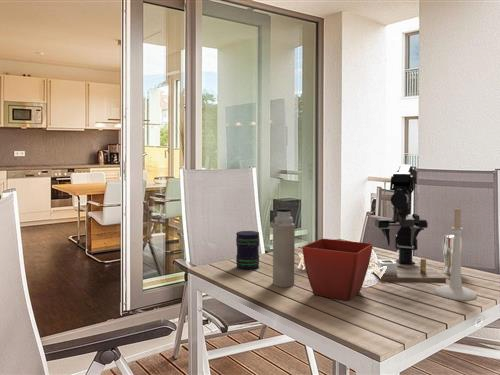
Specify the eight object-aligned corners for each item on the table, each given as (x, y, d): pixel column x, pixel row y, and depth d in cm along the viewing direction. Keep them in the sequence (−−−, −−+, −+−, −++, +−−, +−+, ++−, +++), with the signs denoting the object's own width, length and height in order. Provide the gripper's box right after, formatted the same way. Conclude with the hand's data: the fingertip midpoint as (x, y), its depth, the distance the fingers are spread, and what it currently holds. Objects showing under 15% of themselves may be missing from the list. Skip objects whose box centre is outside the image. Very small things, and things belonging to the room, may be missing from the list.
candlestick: (478, 292, 152) (481, 206, 150) (473, 302, 141) (476, 209, 139) (439, 286, 159) (441, 204, 157) (431, 295, 148) (433, 207, 146)
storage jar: (231, 267, 187) (231, 232, 186) (248, 263, 194) (248, 230, 193) (247, 271, 180) (246, 235, 179) (264, 267, 187) (264, 232, 186)
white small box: (377, 270, 175) (377, 259, 175) (392, 270, 175) (392, 259, 175) (381, 274, 169) (381, 263, 169) (397, 274, 169) (397, 263, 169)
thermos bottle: (281, 279, 168) (282, 206, 166) (298, 283, 163) (299, 208, 161) (268, 283, 162) (268, 208, 161) (285, 288, 157) (285, 210, 155)
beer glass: (457, 270, 182) (458, 234, 181) (463, 274, 175) (464, 237, 174) (439, 270, 183) (440, 234, 182) (445, 274, 176) (446, 237, 175)
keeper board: (372, 271, 180) (372, 255, 179) (431, 272, 179) (431, 255, 178) (381, 281, 166) (381, 263, 165) (445, 281, 165) (446, 263, 165)
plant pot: (372, 290, 155) (373, 243, 153) (356, 306, 138) (357, 253, 137) (321, 282, 164) (322, 238, 163) (300, 296, 148) (300, 246, 147)
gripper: (383, 207, 161) (382, 249, 162) (434, 207, 161) (433, 249, 162) (374, 204, 172) (374, 243, 173) (422, 204, 172) (421, 243, 173)
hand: (400, 245), depth 170 cm, fingers open, 9 cm apart
